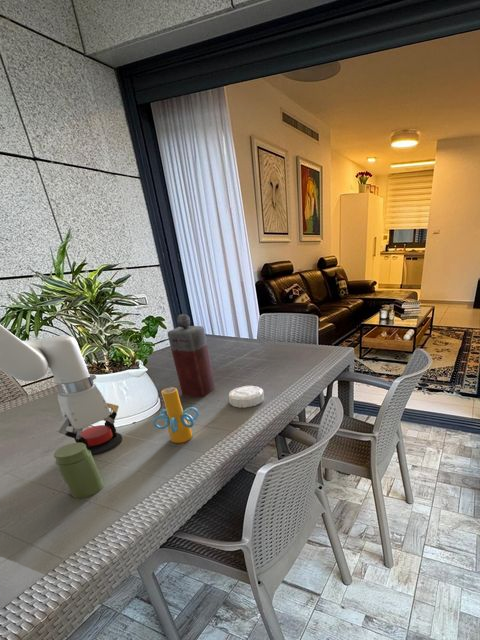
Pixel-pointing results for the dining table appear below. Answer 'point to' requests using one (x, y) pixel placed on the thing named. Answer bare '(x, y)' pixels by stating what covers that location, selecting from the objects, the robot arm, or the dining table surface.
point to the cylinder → (176, 417)
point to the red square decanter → (191, 358)
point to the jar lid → (97, 435)
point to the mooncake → (246, 396)
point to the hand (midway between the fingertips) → (99, 441)
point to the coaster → (106, 445)
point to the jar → (78, 470)
